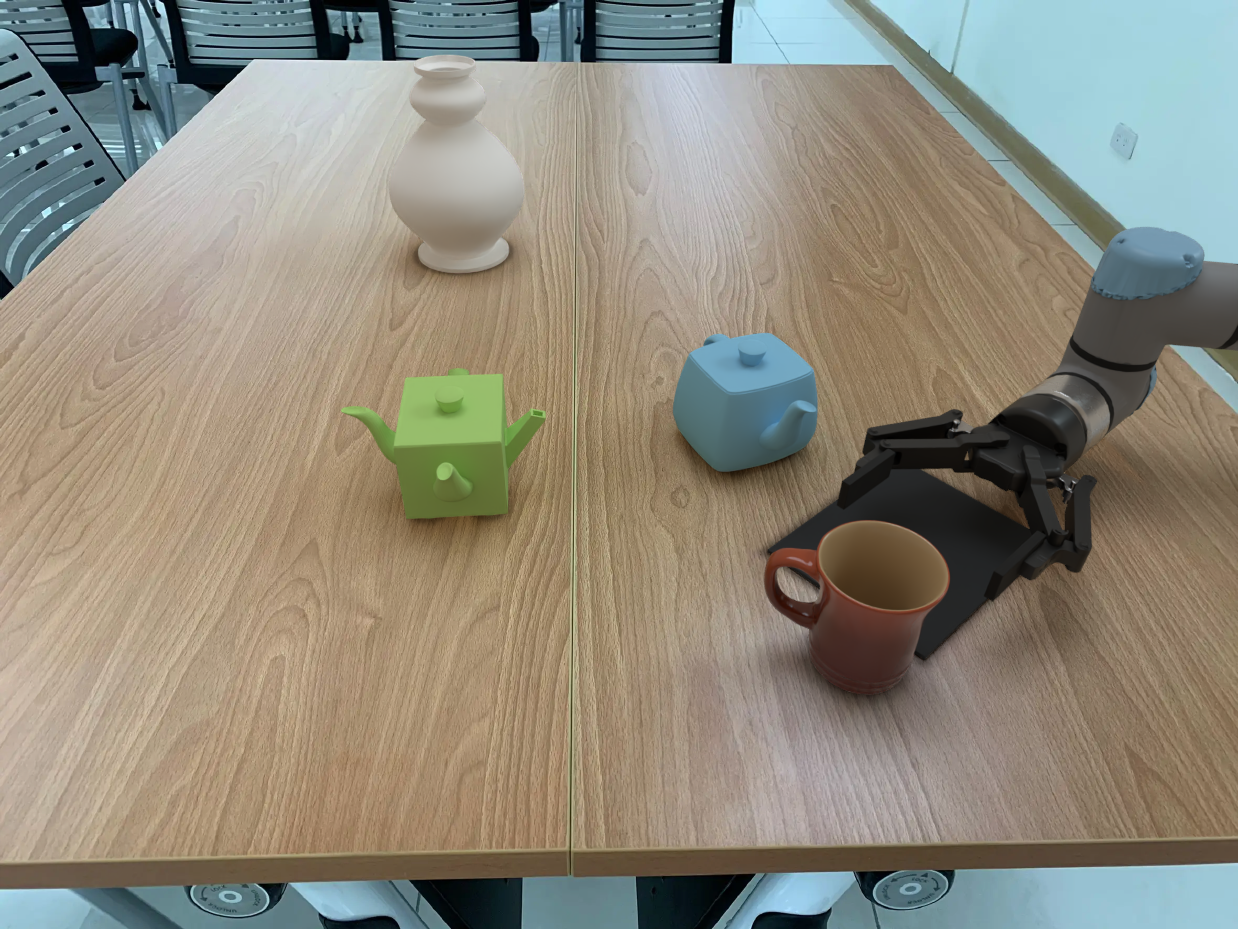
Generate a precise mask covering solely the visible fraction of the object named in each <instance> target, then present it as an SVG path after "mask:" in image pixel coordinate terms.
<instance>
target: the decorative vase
mask: <svg viewBox="0 0 1238 929" xmlns="http://www.w3.org/2000/svg"><path fill="white" fill-rule="evenodd" d="M476 70H477V62H476V60H475V59H474V58H471V57H470V56H465V55H459V54H435V55H429V56H424V57H421V58H418V59H416V60H415V61H413V72H414V73H415V74H417V75H419V76H421V78H420V79H419V80H418V81H416V82H415V83H414V85H413V86H412V88H411V89H410V93H409V103H410V106H411V108H412V109H413V110H414V111H415V112H416V113H417V114H418V115H419V116H420V117H422V118H423V119H424V121H423V122H422V123H421V124H420V125H419V126H418V128H417V129H416V130H415V131H414V132H413V133H412V135H411V136H410V137H409V139H408V140H407V141H406V143H404V145H403V146H402V148H401V150H400V152H399V153H398V155H397V157H396V159H395V161H394V163H393V165H392V168H391V170H390V175H389V180H388V194H389V201H390V204H391V206H392V209H393V211H394V212H395V214H396V216H397V217H398V218H399V219H400V221H401V222H402V223H403V224H404V225H405V226H406V227H407V228H408V229H409V230H410V231H411V232H412V233H413V234H415V235H416V236H417V237H418V238H419V239H420V240H421V241H422V243H421V244H420V245H419V247H418V249H417V256H418V260H419V261H420V263H421V264H422V265H424V266H425V267H427V268H429V269H431V270H434V271H437V272H442V273H448V274H469V273H470V274H471V273H477V272H482V271H486V270H490V269H492V268H494V267H497V266H498V265H500V264H502V263H503V262H504V261H505V260H506V259H507V258H508V257H509V253H510V246H509V244H508V242H507V240H506V239H505V238H503V237H502V236H503V235H504V234H505V233H506V231H507V230H508V229H509V227H510V226H511V224H512V223H513V222H514V221H515V220H516V218H517V217H518V215H519V213H520V211H521V209H522V207H523V204H524V201H525V193H526V192H525V191H526V190H525V181H524V177H523V174H522V171H521V168H520V166H519V164H518V162H517V161H516V159H515V157H514V155H513V154H512V153H511V152H510V150H509V149H508V148H507V147H506V145H505V144H504V143H503V142H502V140H500V139H499V137H497V135H495V134H494V133H493V132H492V131H491V130H490V129H489V128H488V127H486V125H484V124H483V123H482V122H481V121H479V120H478V119H477V118H476V117H477V116H478V115H479V114H480V112H481V111H482V110H483V109H484V107H485V106H486V104H487V103H486V102H487V93H486V90H485V88H484V87H483V86H482V84H481V83H480V82H478V80H476V79H475V78H474V77H472V76H471V74H473V73H474V72H475V71H476Z"/></svg>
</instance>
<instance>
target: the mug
mask: <svg viewBox="0 0 1238 929" xmlns="http://www.w3.org/2000/svg"><path fill="white" fill-rule="evenodd" d="M784 567H785V568H787V567H788V568H789V567H794V568H797V569H800V570H802V571H804V572H805V573H807V574H808V575H809V576H811V577H812V578H813V579H814V580H816V581H817V582H818V583H819V584H820V588H819V591H818V596H817V597H816V599H815V600H814V601H810V602H806V601H800V600H796V599H794V598H792V597H789V596H788V595H787V594H786V593H785V592H783V590H782V589H781V587H780V585H779V580H778V570H779V569H781V568H784ZM949 584H950V572H949V568H948V565H947V563H946V561H945V559H944V557H943V556H942V554H941V553H940V552H939V551H938V550H937V548H936V547H935V546H934V545H933V544H931V543H930V542H929V541H928V540H927V539H925V538H924V537H922V536H921V535H919V534H917V533H916V532H914V531H912V530H910V529H907V528H905V527H902V526H899V525H896V524H893V523H888V522H883V521H875V520H861V521H853V522H849V523H845V524H842V525H840V526H838V527H836V528H834V529H832V530H830V531H829V532H828V533H826V534H825V535H824V536H823V537H822V539H821V541H820V543H819V545H818V548H817V550H811V549H797V548H782V549H779V550H777V551H775V552H773V553H772V554H771V555H770V554H769V556H768V559H767V560H766V564H765V566H764V572H763V587H764V592H765V595H766V598H767V599H768V601H769V602H770V604H771V606H772V607H773V608H774V609H775V610H776V611H777V612H778V613H780V614H781V615H783V616H784V617H786V618H787V619H788V620H790V621H791V622H792V623H795V624H796V625H798V626H800V627H802V628H804V629H807V630H808V651H809V658H810V661H811V664H812V665H813V666H814V668H815V669H816V671H817V672H818V673H819V675H821V676H822V678H824V679H825V680H826V681H827V682H828V683H829V684H831V685H833V686H834V687H836V688H838V689H840V690H843V691H845V692H848V693H852V694H855V695H856V694H857V695H866V696H867V695H869V696H870V695H878V694H882V693H886V692H887V691H889V690H891V689H893V688H894V687H895V686H897V685H898V684H899V682H900V681H901V680H902V678H903V677H905V675H906V674H907V672H908V670H909V668H910V667H911V665H912V663H913V661H914V658H915V654H914V653H915V650H916V647H917V644H918V641H919V637H920V634H921V630H922V626H923V623H924V620H925V618H926V616H927V615H928V614H929V613H930V611H931V610H932V609H933V608H934V607H935V606H936V605H937V604H938V603H939V602H940V601H941V600H942V599H943V597H944V596H945V594H946V593H947V591H948V588H949Z"/></svg>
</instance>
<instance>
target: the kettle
mask: <svg viewBox="0 0 1238 929" xmlns="http://www.w3.org/2000/svg"><path fill="white" fill-rule="evenodd" d="M504 380H505V379H504V374H503V373H488V374H487V373H486V374H483V373H482V374H470V371H469V370H468V369H467V368H462V367H457V368H456V367H454V368H451V369H449V370H447V375H431V376H411V377H410V376H407V377H405V379H404V383H403V388H402V389H403V390H402V394H401V400H400V406H399V410H398V416H397V417H398V418H397V423H396V429H395V431H394V430H392V429H391V428H390V427H389V426H388V425H387V424H386V422H385V421H384V419H383V418H382V417H381V416H380V415H379V414H378V413H377V412H376V411H374V410H373V409H371V408H369V407H366V406H360V405H351V406H344V407H342V408H341V409H340V412H341V413H342V414H345V415H347V416H350V417H352V418H355V419H357V420H358V421H360V422H361V423H363V424H364V425H365V427H366V428H367V429H368V431H369V432H370V434H371V436H372V437H373V439H374V442H375V443H376V445H377V447H378V448H379V450H380V452H381V453H382V454H383V456H384V457H385V458H386V459H387V460H388V461H389V462H390V463H391V464H394V465H395V466H396V472H397V477H398V483H399V487H400V493H401V499H402V504H403V509H404V515H405V519H406V520H413V519H415V520H416V519H428V520H430V519H436V518H450V517H451V518H453V517H471V516H487V517H488V516H495V515H508V514H509V469H510V468H511V467H512V465H513V464H514V463H515V461H516V460H517V459H518V457H519V456H520V455H521V453H522V452H523V450H525V448H526V446H527V445H528V444H529V443H530V441H531V440H532V439H533V437H534V436H535V435H536V433H537V432H538V431H539V429H540V428H541V427H542V425H543V424H544V423H545V422H546V419H547V414H546V410H542V409H536V408H530V409H529V410H528V411H526V413H524V414H523V415H522V416H521V417H520V418H518V419H517V420H516V421H515V422H514V423H512V424H511V425H510V426H508V418H507V406H506V405H507V404H506V395H505V381H504Z"/></svg>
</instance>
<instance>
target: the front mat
mask: <svg viewBox="0 0 1238 929" xmlns="http://www.w3.org/2000/svg"><path fill="white" fill-rule="evenodd" d="M837 501H838V498H837V499H835V500H834V501H833V502H831V503H830V504H829V505H827V506H826V507H824V508H823V509H822V510H820V511H819V512H818V513H816V514H815V515H813V516H812V517H810V518H809V519H807V520H806V521H805V522H803V523H802V524H801V525H800V526H798V527H797V528H795V529H794V530H792V531H791V532H790V533H789V534H787V535H786V536H784V537H783V538H781V539H780V540H779V541H777V542H776V543H774V544H773V545H771V546H770V547H769V548H767V550H766V553H767V554H769V556H770V555H771V554H772V553H773V552H775V551H777V550H779V549H782V548H797V549H811V550H817V548H818V545H819V543H820V541H821V539H822V537H823V536H824V535H825V534H826V533H828V532H829V531H830V530H832V529H834V528H836V527H838V526H840V525H842V524H845V523H849V522H853V521H861V520H875V521H883V522H888V523H893V524H896V525H899V526H902V527H905V528H907V529H910V530H912V531H914V532H916V533H917V534H919V535H921V536H922V537H924V538H925V539H927V540H928V541H929V542H930V543H931V544H933V545H934V546H935V547H936V548H937V550H938V551H939V552H940V553H941V554H942V556H943V557H944V559H945V561H946V563H947V565H948V568H949V572H950V584H949V588H948V591H947V593H946V594H945V596H944V597H943V599H942V600H941V601H940V602H939V603H938V604H937V605H936V606H935V607H934V608H933V609H932V610H931V611H930V613H929V614H928V615H927V616H926V618H925V620H924V623H923V626H922V630H921V634H920V637H919V641H918V644H917V647H916V650H915V653H914V655H916V656H917V657H919V658H921V660H923V661H924V660H926V659H927V658H928V657H929V656H930V655H931V654H932V653H933V652H935V650H937V649H938V647H940V646H941V644H943V643H944V642H945V641H946V640H947V639H948V638H949V637H950V636H951V635H952V634H953V633H954V632H956V631H957V630H958V628H959V627H961V625H963V624H964V623H965V622H966V621H967V620H968V619H969V618H970V617H971V616H972V615H973V614H974V613H975V612H976V611H977V610H978V609H979V608H980V607H981V606H982V605H984V603H985V602H987V601H988V600H989V599H988V598H986V597H984V594H985V591H986V589H987V586H988V584H989V581H990V579H991V576H992V574H993V571H994V570H995V569H996V568H997V567H998V566H999V565H1001V564H1002V563H1003V562H1004V561H1005V560H1006V559H1007V558H1008V557H1009V556H1010V555H1011V554H1012V553H1013V552H1015V551H1016V550H1017V549H1018V548H1019V547H1020V546H1021V545H1022V544H1023V543H1024V542H1025V541H1026V540H1027V539H1029V538H1030V537H1031V536H1032V535H1031V532H1030V529H1029V527H1027V526H1025V525H1024V524H1021V523H1020V522H1018V521H1016V520H1014V519H1012V518H1011V517H1008V516H1007V515H1005V514H1003V513H1001V512H1000V511H998V510H996V509H994V508H993V507H990V506H988V505H987V504H985V503H983V502H981V501H980V500H978V499H976V498H974V497H972V496H970V495H968V494H966V493H964V492H963V491H961V490H959V489H958V488H956V487H954V486H952V485H950V484H948V483H946V482H945V481H943V480H941V479H939V478H938V477H935V476H934V475H932V474H930V473H928V472H926V471H925V470H924V469H891V472H890V475H889V477H888V478H887V479H886V480H884V481H883V482H881V483H880V484H879V485H877V486H876V487H875V488H873V489H872V490H870V491H869V492H868V493H866V494H865V495H864V496H862V497H861V498H860V499H858V500H857V501H855V502H854V503H853V504H851V505H850V506H849V507H847V508H846V509H844V510H843V509H842V508H840V507H838V506H837ZM788 568H789V569H790V570H792V571H793V572H794V573H796V574H798V575H799V576H801V577H802V578H803V579H805V580H807V581H808V582H809V583H810V584H812V585H814V586H815V587H816V588H818V589H820V584H819V583H818V582H817V581H816V580H814V579H813V578H812V577H811V576H809V575H808V574H807V573H805V572H804V571H802V570H800V569H797V568H794V567H788Z"/></svg>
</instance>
